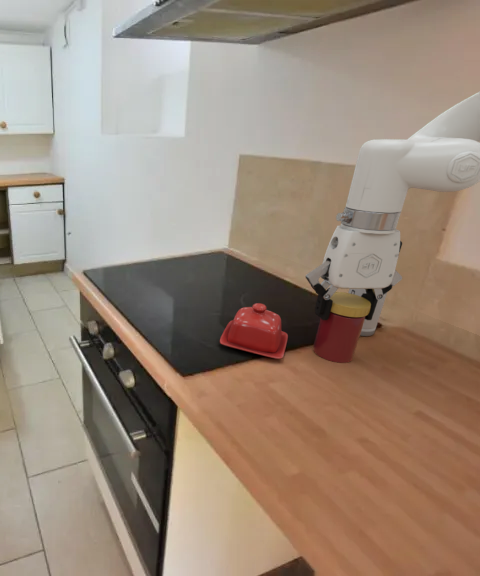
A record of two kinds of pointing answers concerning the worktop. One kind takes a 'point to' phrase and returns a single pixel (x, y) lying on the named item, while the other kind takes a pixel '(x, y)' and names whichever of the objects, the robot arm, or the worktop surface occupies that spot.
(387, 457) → the worktop surface
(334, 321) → the jam jar
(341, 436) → the worktop surface
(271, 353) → the butter dish
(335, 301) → the lid
